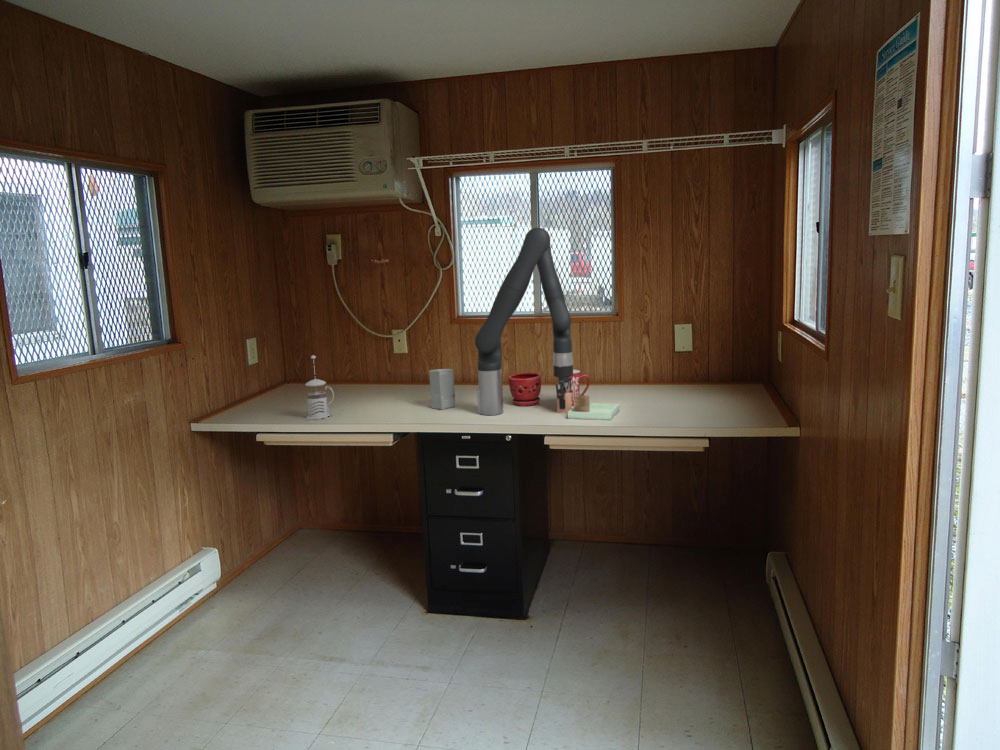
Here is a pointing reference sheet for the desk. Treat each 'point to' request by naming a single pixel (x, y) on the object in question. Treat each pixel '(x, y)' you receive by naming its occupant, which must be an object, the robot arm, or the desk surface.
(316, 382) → the french press
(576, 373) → the mug
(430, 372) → the skincare box
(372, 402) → the desk surface
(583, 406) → the walnut block
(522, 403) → the plant pot
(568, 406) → the terracotta block
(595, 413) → the tray
